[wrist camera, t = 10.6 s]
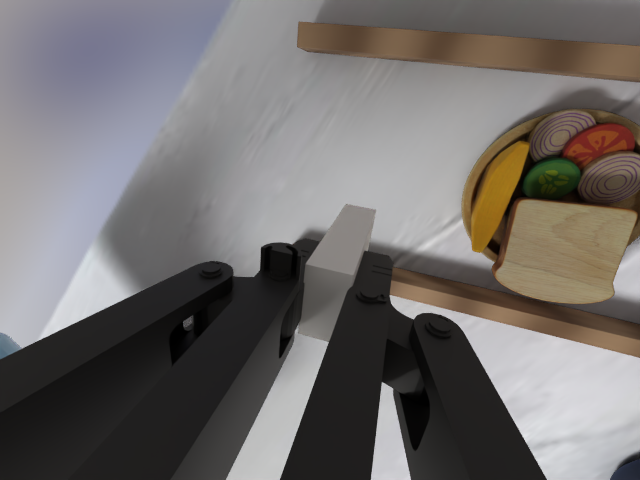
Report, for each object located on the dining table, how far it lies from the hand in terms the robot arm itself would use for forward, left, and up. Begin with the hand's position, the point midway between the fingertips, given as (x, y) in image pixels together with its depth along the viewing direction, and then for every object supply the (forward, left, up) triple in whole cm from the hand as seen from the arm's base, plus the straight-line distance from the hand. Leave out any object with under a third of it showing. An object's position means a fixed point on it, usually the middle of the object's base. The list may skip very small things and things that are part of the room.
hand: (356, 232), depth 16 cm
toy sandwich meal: (+13, 0, -13) cm, 19 cm away
